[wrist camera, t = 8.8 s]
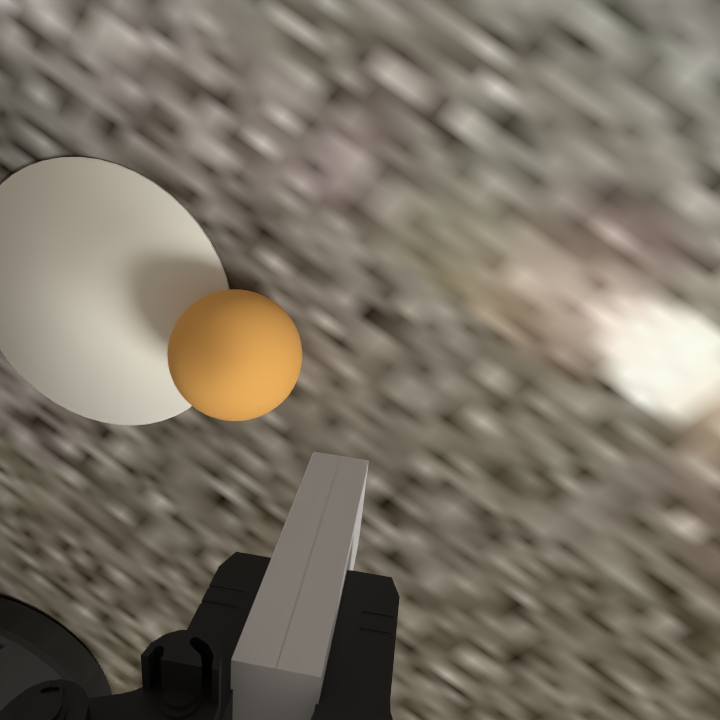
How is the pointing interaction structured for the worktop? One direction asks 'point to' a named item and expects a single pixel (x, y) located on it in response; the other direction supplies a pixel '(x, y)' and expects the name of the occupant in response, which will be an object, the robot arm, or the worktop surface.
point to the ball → (234, 355)
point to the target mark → (98, 286)
